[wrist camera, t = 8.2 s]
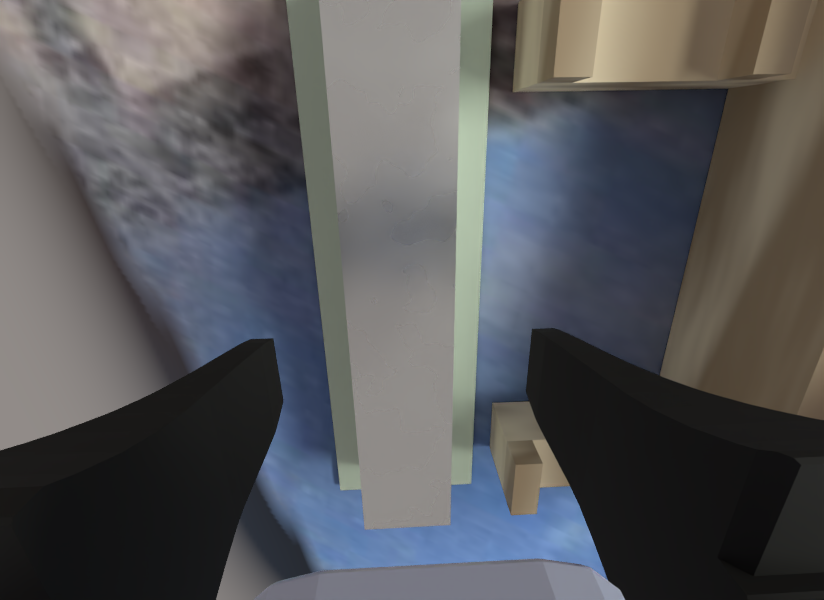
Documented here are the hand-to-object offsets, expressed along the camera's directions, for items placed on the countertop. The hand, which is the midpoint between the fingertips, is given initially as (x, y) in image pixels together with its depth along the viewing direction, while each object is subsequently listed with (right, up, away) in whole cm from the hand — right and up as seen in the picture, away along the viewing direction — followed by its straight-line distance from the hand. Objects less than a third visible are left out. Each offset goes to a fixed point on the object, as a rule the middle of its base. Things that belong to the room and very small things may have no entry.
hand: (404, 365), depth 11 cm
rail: (0, +3, +7) cm, 8 cm away
